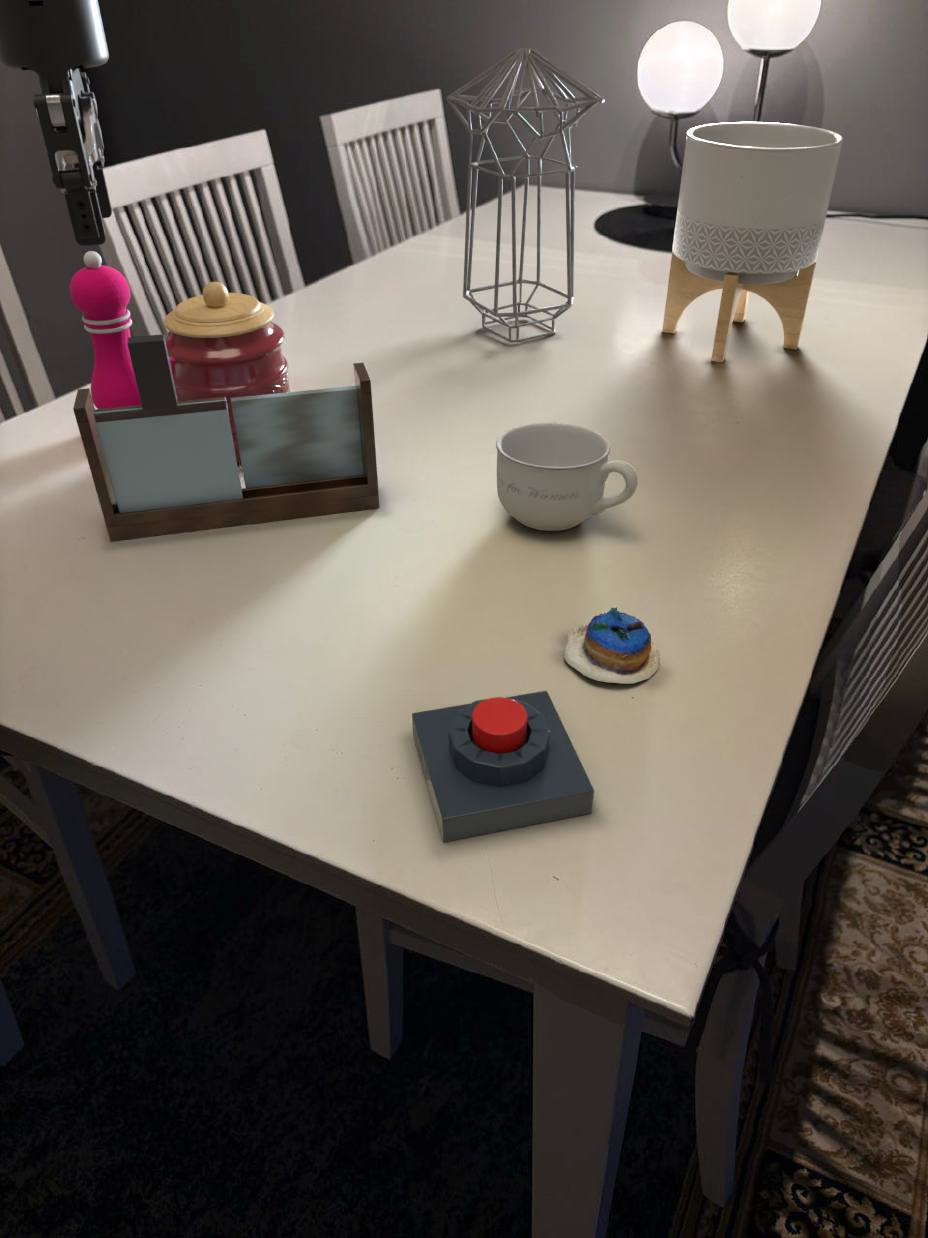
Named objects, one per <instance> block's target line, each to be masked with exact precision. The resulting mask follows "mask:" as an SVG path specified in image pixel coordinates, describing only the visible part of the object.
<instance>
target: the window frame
mask: <svg viewBox="0 0 928 1238" xmlns="http://www.w3.org/2000/svg"><path fill="white" fill-rule="evenodd" d="M353 376H354V385H349V386H339V387H329V388H328V387H327V388H317V389H309V390H308V389H307V390H299V391H290V392H287V393H277V394H266V395H256V396H246V397H236V398H231V405H232V411H233V417H234V423H235V429H236V435H237V440H238V446H239V452H240V458H241V463H240V465H241V469H242V474H243V482H244V487H245V488H241V489H242V495H243V499H235V500H226V501H218V502H209V503H201V504H193V505H184V506H176V507H167V508H159V509H151V510H142V511H134V512H125V513H119V509H118V505H117V501H116V498H115V494H114V490H113V486H112V483H111V479H110V475H109V472H108V468H107V464H106V460H105V457H104V453H103V449H102V445H101V442H100V438H99V434H98V430H97V427H96V423H95V419H94V416H93V411H94V410H96V407H95V405H94V404H93V400H92V396H91V388H89V387H88V388H87V387H86V388H78V389H77V391H76V396H75V400H74V403H73V408H72V409H73V414H74V417H75V421H76V424H77V428H78V432H79V435H80V438H81V442H82V445H83V449H84V453H85V457H86V460H87V463H88V468H89V470H90V474H91V478H92V481H93V485H94V489H95V491H96V496H97V499H98V503H99V506H100V509H101V513H102V517H103V520H104V525H105V528H106V531H107V535H108V539H109V541H110V542H116V541H123V540H131V539H132V540H133V539H140V538H147V537H154V536H155V537H156V536H164V535H171V534H181V533H187V532H195V531H196V532H197V531H204V530H211V529H213V530H214V529H220V528H227V527H228V528H229V527H237V526H246V525H252V524H253V525H254V524H260V523H270V522H277V521H284V520H285V521H286V520H292V519H301V518H309V517H317V516H324V515H334V514H341V513H342V514H343V513H348V512H358V511H366V510H373V509H380V508H381V505H380V493H379V480H378V465H377V463H378V462H377V450H376V438H375V437H376V435H375V422H374V421H375V420H374V408H373V407H374V406H373V394H372V380H371V377H370V375H369V373H368V370H367V367H366V366H365V362H356V363H355V362H354V363H353Z"/></svg>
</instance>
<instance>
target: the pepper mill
mask: <svg viewBox="0 0 928 1238" xmlns="http://www.w3.org/2000/svg"><path fill="white" fill-rule="evenodd" d="M83 263H84V265H85V266H84V267H83V268H80V269H79V270H78V271H77V272H75V273H74V274H73V276H72V278H71V281H70V285H69V293H70V298H71V302H72V303H73V304H74V306H75V307H76V308H77V309H78V310H79V311H80V312H82V313H83V314H82V315H81V320H82V322H83V323H84V324H83V329H84V330H85V331H87V332H88V333H89V336H90V338H91V341H92V345H93V352H94V353H93V354H94V362H93V369H92V376H91V380H90V393H91V396H92V400H93V404H94V408H95V409H106V408H117V407H127V406H137V405H141V401H140V396H139V392H138V388H137V383H136V379H135V375H134V370H133V366H132V362H131V358H130V353H129V349H128V345H127V343H128V337H132V336H131V335H132V334H131V329H130V327H131V326H132V324H133V320H132V319H131V312H130V311H131V310H129V309H128V308H127V306H128V305H129V303H130V300H131V289H130V286H129V283H128V281H127V279H126V278H125V276H124V275H123V274H122V273H121V272H120V271H118V270H117V269H116V268H114V267H112V266H108V265H102V263H103V260H102V256H101V255H100V253H98V252H97V251H94V250H89V251H87V252H85V254H84V255H83Z"/></svg>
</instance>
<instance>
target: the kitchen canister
mask: <svg viewBox="0 0 928 1238" xmlns="http://www.w3.org/2000/svg"><path fill="white" fill-rule="evenodd" d="M274 317H275V313H274V310H273V309H272V308H271V306H270V305H267V304H266V303H263V302H261V301H260V300H258V299H257V298H256V297H254V296H253V295H252V296H251V295H249V294H245V293H238V292H229V290H228V289H227V287H226V286H225V285H224V284H223V283H222V282H219V281H210V282H208V283H206V284H205V285H204V286H203V289H202V294H201V295H197V296H192V297H189V298H186V299H184V300H183V301H181V302H179V303H178V304H177V305H176V307H175V308H174V309H173V310H171V311H170V312H169V313H167V315H166V316H165V317H164V319H163V324H164V327H165V328H166V330H168V332H167V333H165V334H164V336H165V341H166V346H167V351H168V355H169V360H170V365H171V370H172V375H173V380H174V385H175V389H176V394H177V402H178V401H188V400H198V399H208V398H218V397H226V402H227V407H228V413H229V419H230V425H231V431H232V436H233V442H234V448H235V454H236V460H237V464H241V458H240V452H239V446H238V440H237V435H236V429H235V423H234V417H233V411H232V405H231V398H236V397H246V396H256V395H266V394H277V393H287V392H291V388H290V382H289V374H288V370H289V362H288V360H287V358H286V357H285V356H284V355H283V351H282V347H281V345H282V344H283V343H284V340H285V331H284V330H283V328H281V327H280V325H278V324H276V323H275V322H273V321H272V320H273V319H274Z"/></svg>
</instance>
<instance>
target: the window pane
mask: <svg viewBox="0 0 928 1238" xmlns="http://www.w3.org/2000/svg"><path fill="white" fill-rule="evenodd" d="M127 345H128V349H129V353H130V358H131V362H132V366H133V370H134V375H135V379H136V383H137V388H138V392H139V396H140V401H141V405H137V406H127V407H117V408H106V409H97V408H95V410H94V411H93V416H94V419H95V423H96V427H97V430H98V434H99V438H100V442H101V445H102V449H103V453H104V457H105V460H106V464H107V468H108V472H109V475H110V479H111V483H112V486H113V490H114V494H115V498H116V501H117V505H118V509H119V513H125V512H134V511H142V510H151V509H159V508H167V507H176V506H184V505H193V504H201V503H209V502H218V501H226V500H235V499H243V495H242V489H243V488H242V483H241V478H240V471H239V467H238V463H237V460H236V454H235V448H234V442H233V436H232V431H231V425H230V419H229V413H228V407H227V402H226V397H218V398H208V399H198V400H188V401H178V402H177V394H176V389H175V385H174V380H173V375H172V370H171V365H170V360H169V355H168V351H167V346H166V341H165V334H162V333H161V334H152V335H151V334H150V335H139V336H131V337H128V343H127Z"/></svg>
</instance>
